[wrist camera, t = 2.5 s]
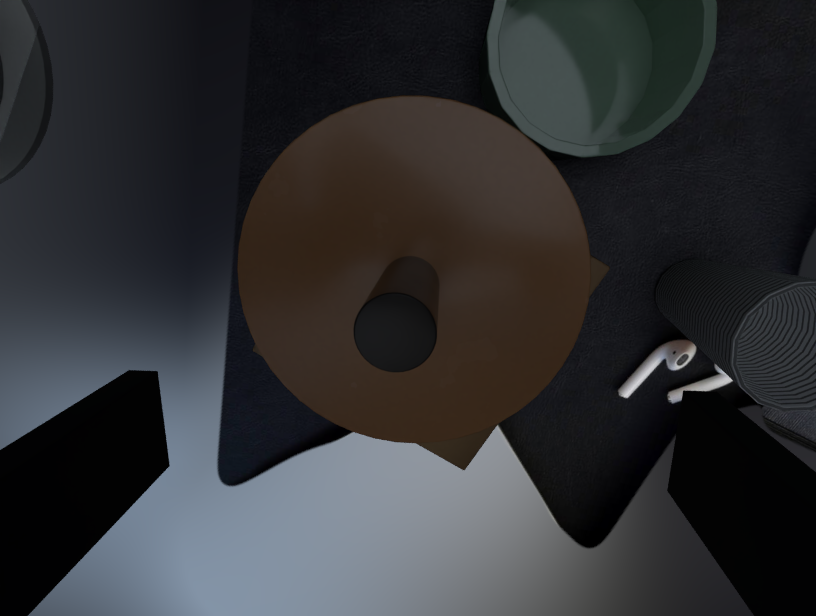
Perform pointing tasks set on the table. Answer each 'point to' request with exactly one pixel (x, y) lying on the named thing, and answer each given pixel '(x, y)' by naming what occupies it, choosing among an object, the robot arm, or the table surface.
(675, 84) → the pot
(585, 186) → the table surface
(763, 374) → the cup
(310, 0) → the table surface
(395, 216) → the lid
